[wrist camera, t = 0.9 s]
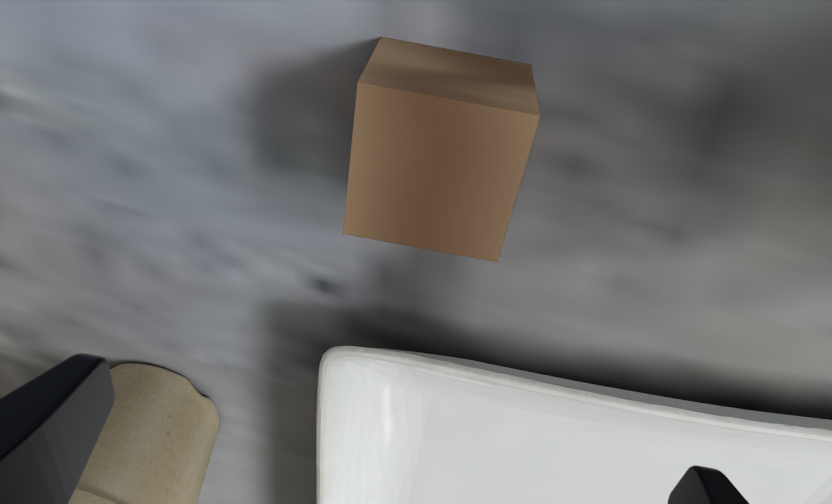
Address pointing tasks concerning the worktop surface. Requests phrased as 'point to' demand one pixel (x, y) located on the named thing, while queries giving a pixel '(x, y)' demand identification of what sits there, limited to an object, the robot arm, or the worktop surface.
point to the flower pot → (150, 441)
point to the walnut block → (439, 148)
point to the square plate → (539, 438)
